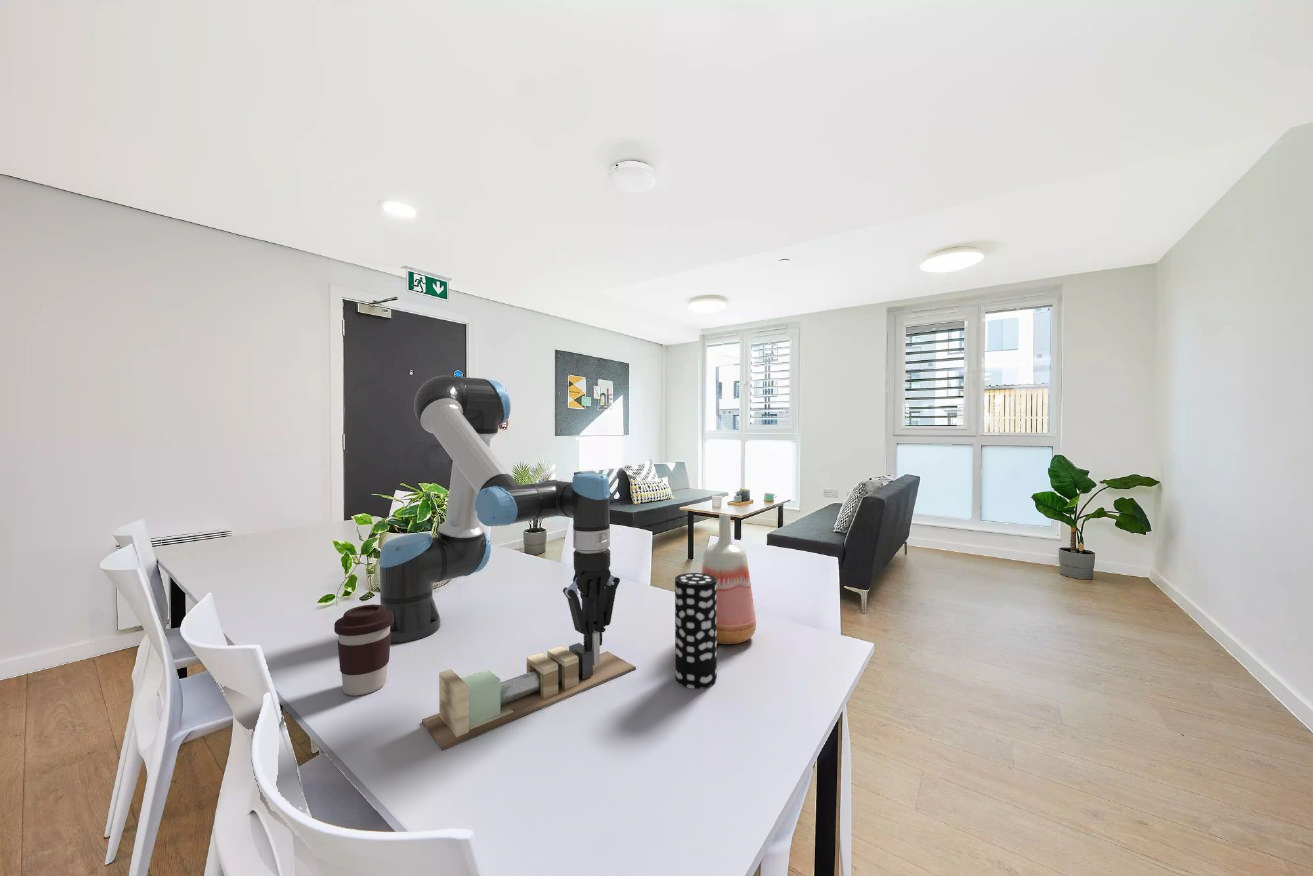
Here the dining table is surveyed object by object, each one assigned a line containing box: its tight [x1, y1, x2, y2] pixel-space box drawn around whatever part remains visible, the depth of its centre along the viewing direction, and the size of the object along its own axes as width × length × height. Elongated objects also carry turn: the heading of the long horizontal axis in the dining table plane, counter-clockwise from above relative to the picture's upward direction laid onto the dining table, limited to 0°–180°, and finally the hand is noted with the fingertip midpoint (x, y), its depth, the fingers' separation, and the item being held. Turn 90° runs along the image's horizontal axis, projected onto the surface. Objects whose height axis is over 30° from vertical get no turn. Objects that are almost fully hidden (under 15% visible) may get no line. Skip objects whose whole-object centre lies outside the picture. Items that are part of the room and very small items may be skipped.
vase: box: [701, 513, 757, 645], centre depth 118 cm, size 14×14×30 cm
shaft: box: [500, 642, 593, 706], centre depth 93 cm, size 5×19×5 cm, turn 132°
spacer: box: [460, 668, 501, 726], centre depth 85 cm, size 5×6×6 cm
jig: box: [421, 645, 637, 751], centre depth 93 cm, size 10×39×8 cm, turn 132°
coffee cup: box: [333, 604, 394, 696], centre depth 95 cm, size 10×10×15 cm
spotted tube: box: [674, 572, 718, 690], centre depth 98 cm, size 8×8×20 cm
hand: (593, 662), depth 101 cm, fingers closed
